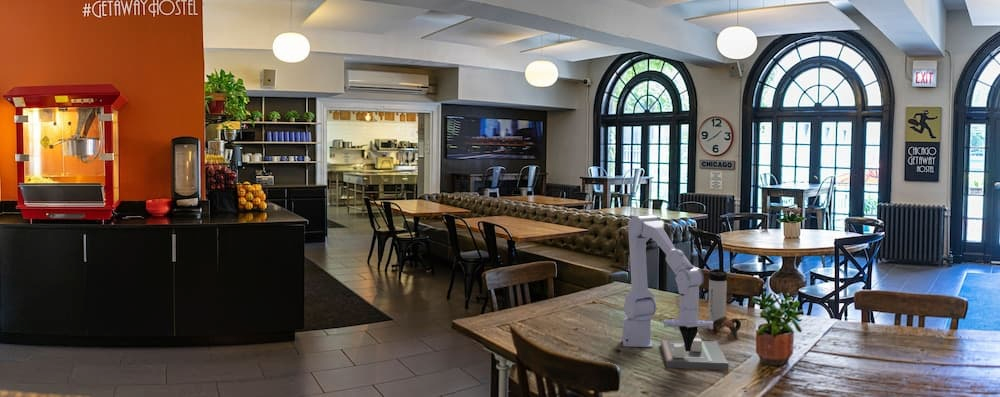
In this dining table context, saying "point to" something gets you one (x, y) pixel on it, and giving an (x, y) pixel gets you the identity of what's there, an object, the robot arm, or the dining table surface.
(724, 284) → the travel mug
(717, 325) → the pottery mug
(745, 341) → the dining table surface
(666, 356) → the panel
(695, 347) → the block
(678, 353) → the block
